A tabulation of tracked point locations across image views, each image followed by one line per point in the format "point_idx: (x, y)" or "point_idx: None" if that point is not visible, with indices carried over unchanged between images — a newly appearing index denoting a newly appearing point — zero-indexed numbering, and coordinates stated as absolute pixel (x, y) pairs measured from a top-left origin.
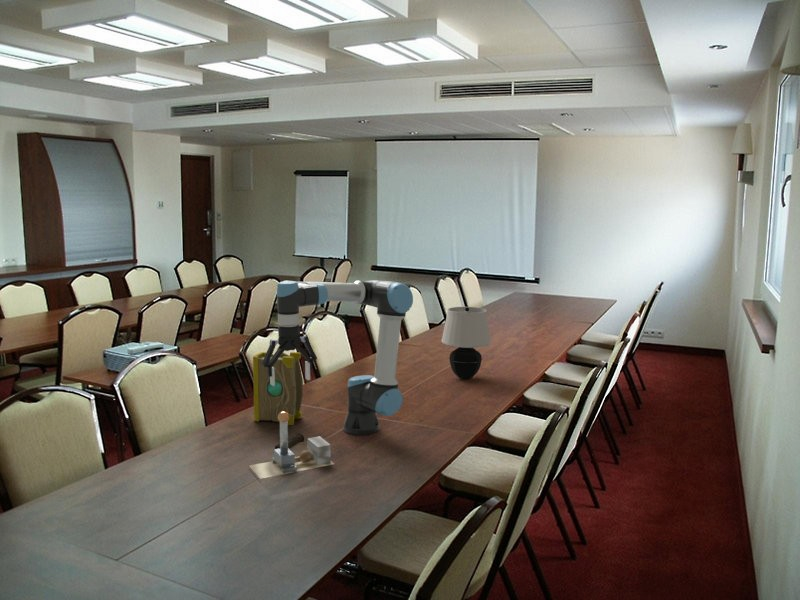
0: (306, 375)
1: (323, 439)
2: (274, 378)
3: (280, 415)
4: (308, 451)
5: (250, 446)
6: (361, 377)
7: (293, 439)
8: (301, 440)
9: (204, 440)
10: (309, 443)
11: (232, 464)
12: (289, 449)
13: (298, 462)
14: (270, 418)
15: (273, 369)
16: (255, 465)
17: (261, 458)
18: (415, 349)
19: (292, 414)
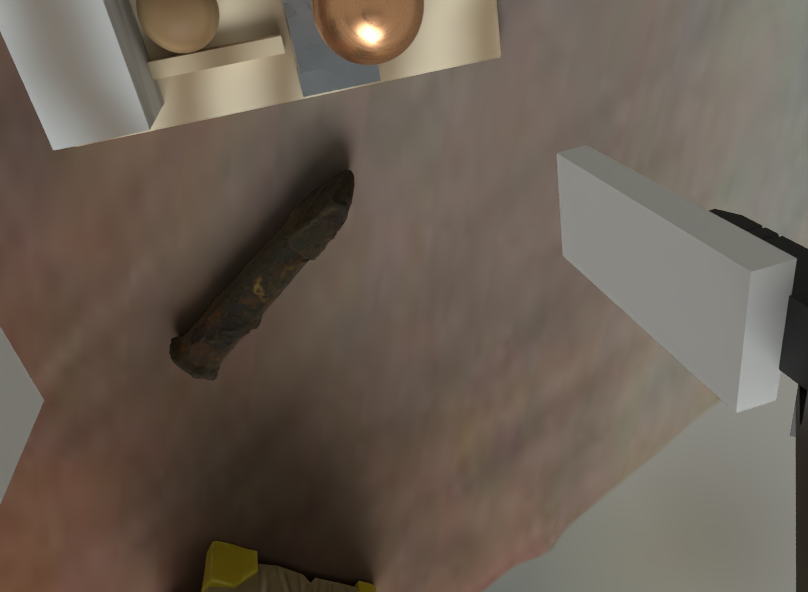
0: (4, 405)
1: (22, 75)
2: (618, 188)
3: None
4: (154, 8)
5: (433, 338)
6: None
7: (232, 312)
8: (185, 337)
9: (593, 426)
10: (139, 86)
11: (551, 145)
12: (287, 19)
13: (227, 17)
14: (312, 584)
15: (747, 251)
16: (469, 47)
17: (409, 186)
18: None
19: (211, 587)
